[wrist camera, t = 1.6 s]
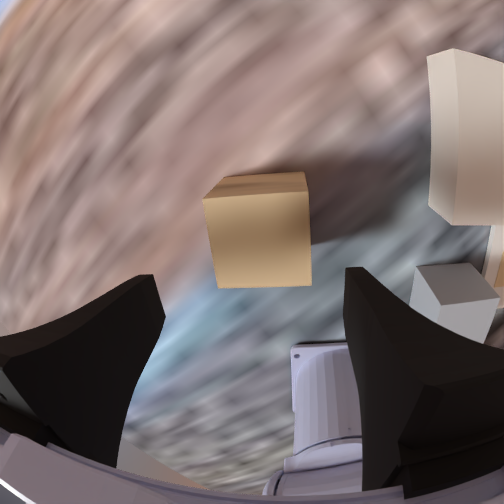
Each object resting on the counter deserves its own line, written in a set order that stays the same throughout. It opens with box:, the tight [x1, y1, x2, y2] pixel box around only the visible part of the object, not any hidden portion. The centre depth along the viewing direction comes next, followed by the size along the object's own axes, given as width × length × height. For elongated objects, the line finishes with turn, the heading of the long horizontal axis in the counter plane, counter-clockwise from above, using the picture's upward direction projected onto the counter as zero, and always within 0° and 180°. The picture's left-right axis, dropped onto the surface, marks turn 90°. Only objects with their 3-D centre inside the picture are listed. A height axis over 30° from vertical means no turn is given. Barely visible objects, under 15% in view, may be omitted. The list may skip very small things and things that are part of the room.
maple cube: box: [203, 172, 311, 288], centre depth 17 cm, size 5×5×5 cm
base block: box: [427, 48, 504, 225], centre depth 13 cm, size 10×10×4 cm
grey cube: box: [409, 263, 501, 344], centre depth 18 cm, size 5×5×5 cm
